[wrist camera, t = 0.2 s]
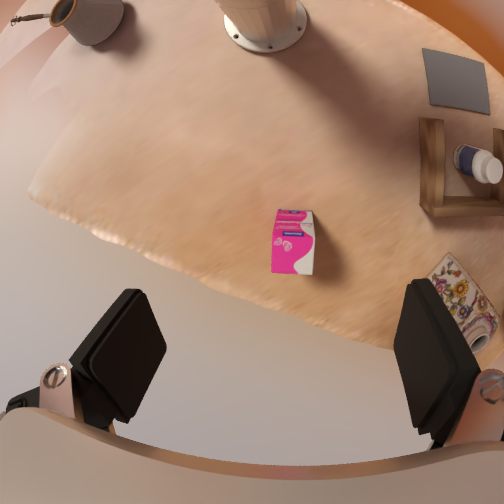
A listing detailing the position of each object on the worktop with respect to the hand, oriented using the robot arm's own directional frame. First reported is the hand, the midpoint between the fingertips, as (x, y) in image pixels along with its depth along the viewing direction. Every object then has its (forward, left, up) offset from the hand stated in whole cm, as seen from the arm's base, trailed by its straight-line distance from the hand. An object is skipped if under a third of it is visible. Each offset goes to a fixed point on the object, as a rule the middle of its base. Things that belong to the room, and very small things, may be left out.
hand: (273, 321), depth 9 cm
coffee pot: (-37, -34, -37) cm, 62 cm away
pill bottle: (0, +31, -37) cm, 48 cm away
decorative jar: (+26, +30, -37) cm, 54 cm away
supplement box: (+11, -1, -37) cm, 38 cm away
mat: (-14, +31, -36) cm, 50 cm away
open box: (+1, +31, -36) cm, 48 cm away
